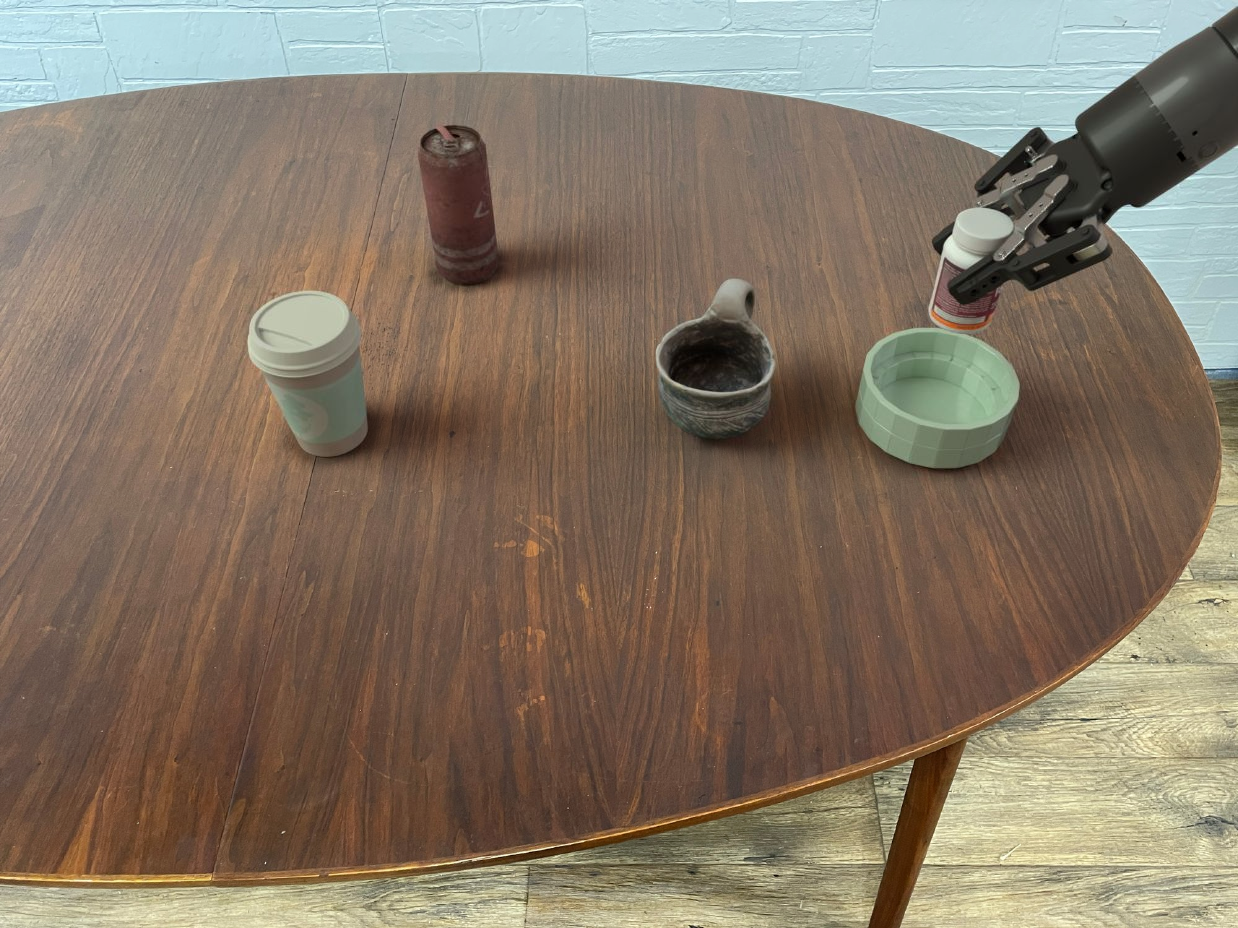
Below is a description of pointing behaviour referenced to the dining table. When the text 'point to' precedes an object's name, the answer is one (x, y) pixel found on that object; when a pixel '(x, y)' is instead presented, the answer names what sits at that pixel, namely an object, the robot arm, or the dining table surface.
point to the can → (459, 203)
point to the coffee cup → (313, 368)
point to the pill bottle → (961, 250)
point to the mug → (717, 367)
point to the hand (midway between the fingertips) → (946, 272)
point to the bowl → (936, 397)
